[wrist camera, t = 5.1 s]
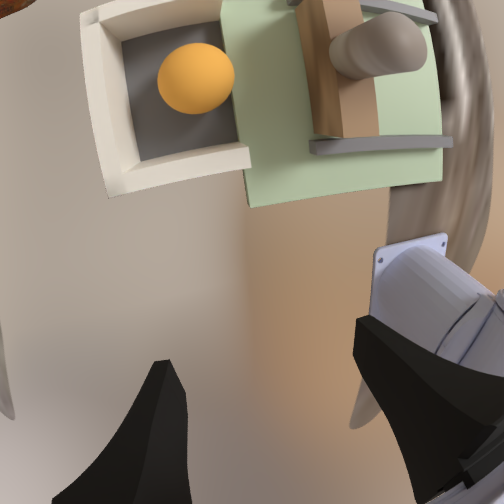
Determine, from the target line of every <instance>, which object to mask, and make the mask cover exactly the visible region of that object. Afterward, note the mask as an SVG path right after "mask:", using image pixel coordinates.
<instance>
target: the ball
mask: <svg viewBox="0 0 504 504" xmlns="http://www.w3.org/2000/svg"><path fill="white" fill-rule="evenodd" d="M234 78H235V74H234V68H233V65H232V63H231V61H230V59H229V58H228V56H227V55H226V54H225V53H224V52H223V51H221V50H220V49H218V48H217V47H215V46H212V45H209V44H205V43H191V44H187V45H184V46H181V47H179V48H177V49H176V50H174V51H173V52H171V53H170V54H169V55H168V56H167V57H166V58H165V60H164V61H163V63H162V64H161V67H160V69H159V72H158V78H157V82H158V89H159V92H160V94H161V96H162V98H163V99H164V101H165V102H166V103H167V104H168V105H169V106H170V107H172V108H173V109H175V110H177V111H179V112H182V113H186V114H202V113H206V112H208V111H211V110H213V109H215V108H217V107H218V106H220V105H221V104H222V103H223V102H224V101H225V100H226V99H227V97H228V96H229V94H230V93H231V91H232V88H233V85H234Z"/></svg>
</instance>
